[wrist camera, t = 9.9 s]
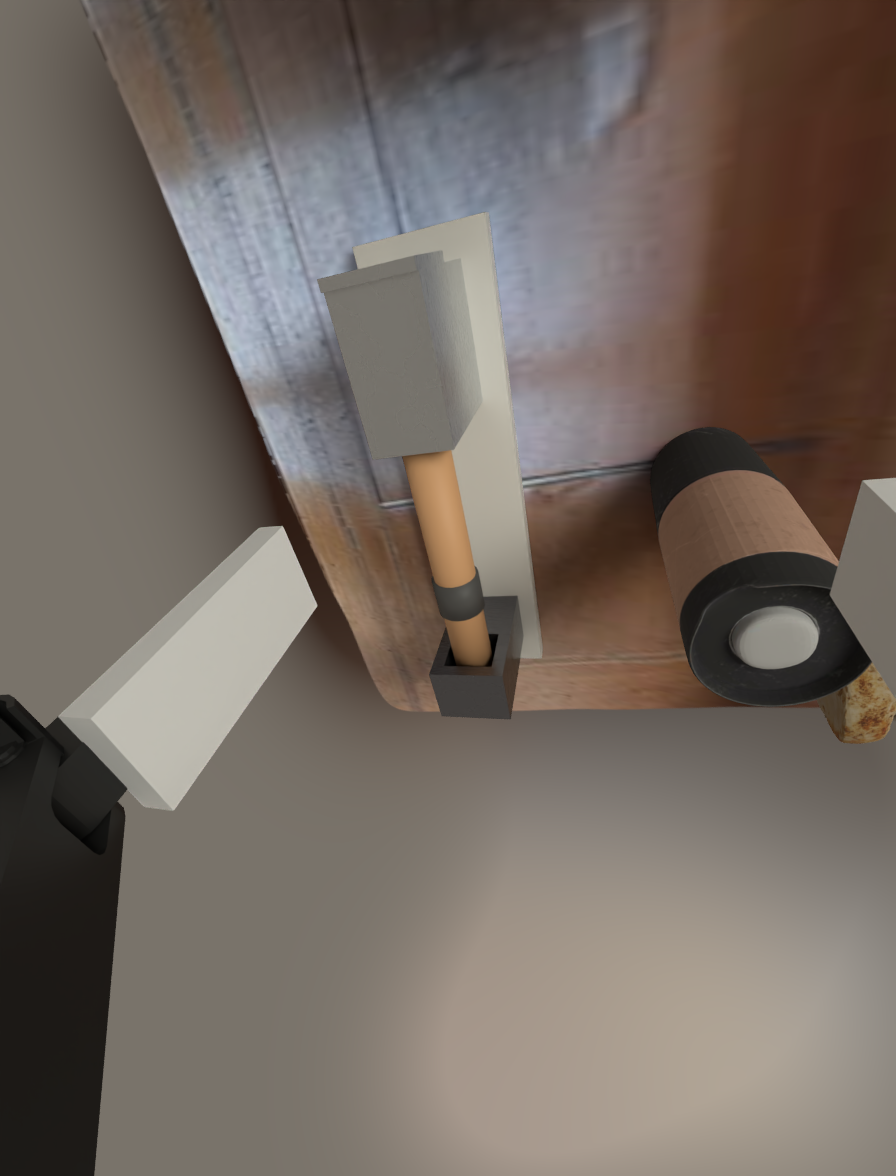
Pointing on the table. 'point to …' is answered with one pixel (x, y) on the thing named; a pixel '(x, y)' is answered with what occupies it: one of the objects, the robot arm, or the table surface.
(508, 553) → the baseboard
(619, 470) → the table surface
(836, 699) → the stone disc
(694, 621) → the travel mug
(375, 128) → the table surface
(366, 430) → the light grey block
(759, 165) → the table surface
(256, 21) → the table surface
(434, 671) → the charcoal socket
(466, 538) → the orange tube
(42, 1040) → the robot arm
